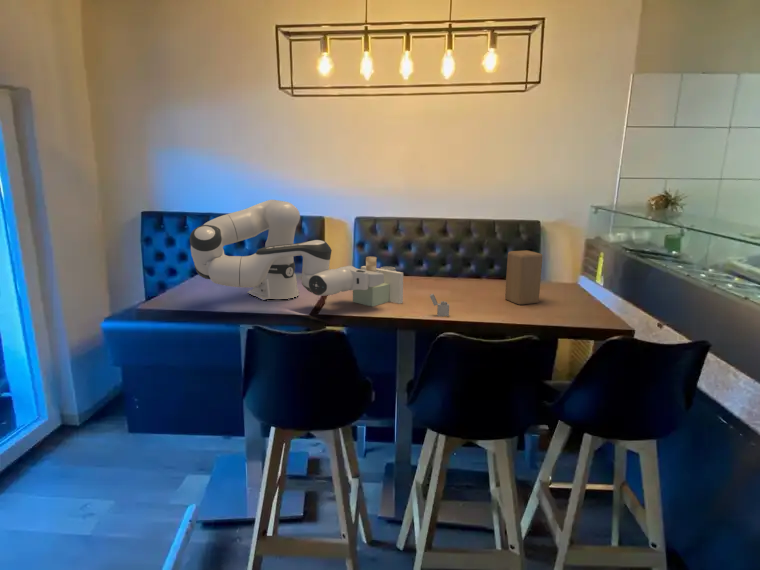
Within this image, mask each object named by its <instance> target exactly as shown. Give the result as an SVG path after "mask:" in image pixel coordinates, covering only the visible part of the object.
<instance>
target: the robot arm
mask: <svg viewBox="0 0 760 570" xmlns="http://www.w3.org/2000/svg"><path fill="white" fill-rule="evenodd" d="M300 220H301V213H300V211H299V209H298V208H297V207H296V206H295V205H294V204H293V203H291V202H289V201H286V200H285V201H283V200H277V199H268V200H265V201H262V202H260V203H256V204H254V205H252V206H250V207H247V208H245V209H240V210H237V211H234V212H230V213H227V214H223V215H220V216H217V217H215V218H212V219H211V220H208V221H207V222H206V221H205V223H204V224H202V225H199V226H197V227H196V228H194V229H193V230H192V231H191V232H190V235H189V244H190V255H191V258H192V261H193V264H194V270H195V271H196V273H197V274H198V275H199V276H200V277H201V278H203V279H206V280H210V281H211V282H212V283H214V284H217V285H221V286H225V287H232V288H244V289H245V288H249V290H248V291H247V293H250V294H252V295H255V296H257V297H259V298H262V299H288V298H293V299H295V298H294V297H296V298H298V297H299V296H300V295H299V294H300V289H298V282H297V275H296V273H295V271H296V265H295V264H296V262H295V261H294V257H296V256H298V257H299V256H302V266H301V267H302V270H301V285H302V286H303V288H304V289H305V290H307V291H308V292H309V293H312V294H313V295H315V296H320V297H322V296H323V297H324V296H330V295H331V296H333V295H336V294H339V293H341V292H344V293H345V292H347V291H353V290H367V289H368V287H374V286H377V285H380V284H383V282H384V274H383V273H379V272H378V271H374V272H373V271H367V270H366V269H364V270H362V269H361V268H356V267H355V266H353V265H346V266H340V267H338V268H330V263H331V257H332V248H331V247H330V245H329V244H328V243H327V242H326V241H325V240H320V239H314V240H309V241H303V242H298V243H297V242H296V243H295V242H294V240H295V236H296V235H295V234H296V231H297V230H296V229H297V226H298V225H299V222H300ZM266 231H268V234H267V239H266V241H265V244H264V247H262V248H261V247H260V248H258V249H257V250H256V252H255V253H253V254H251V255H244V256H243V255H242V256H241V255H226V253H225V250H224V246H228V245H233V244H234V243H238V242H242V241H244V240H245V241H246V240H248V239H251V238H255V237H256V236H258V235H259V234H261V233H263V232H266ZM250 288H252V289H250ZM298 295H299V296H298ZM297 296H298V297H297ZM288 300H289V299H288Z"/></svg>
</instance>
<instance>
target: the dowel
mask: <svg viewBox="0 0 760 570" xmlns="http://www.w3.org/2000/svg"><path fill="white" fill-rule="evenodd" d="M365 266H366V270H367V271H373V272H374V271H376V268H377V257H376V256H366V257H365Z"/></svg>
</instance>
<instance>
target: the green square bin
mask: <svg viewBox="0 0 760 570" xmlns="http://www.w3.org/2000/svg"><path fill="white" fill-rule="evenodd" d="M352 302H353V303H356V304H360V305H363V306H368V307H371V308H372V307H377V306H380V305H382V304H387V303H388V302H389V284H387V283H383V284H380V285H377V286H374V287H368V289H367V290H352Z"/></svg>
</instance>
